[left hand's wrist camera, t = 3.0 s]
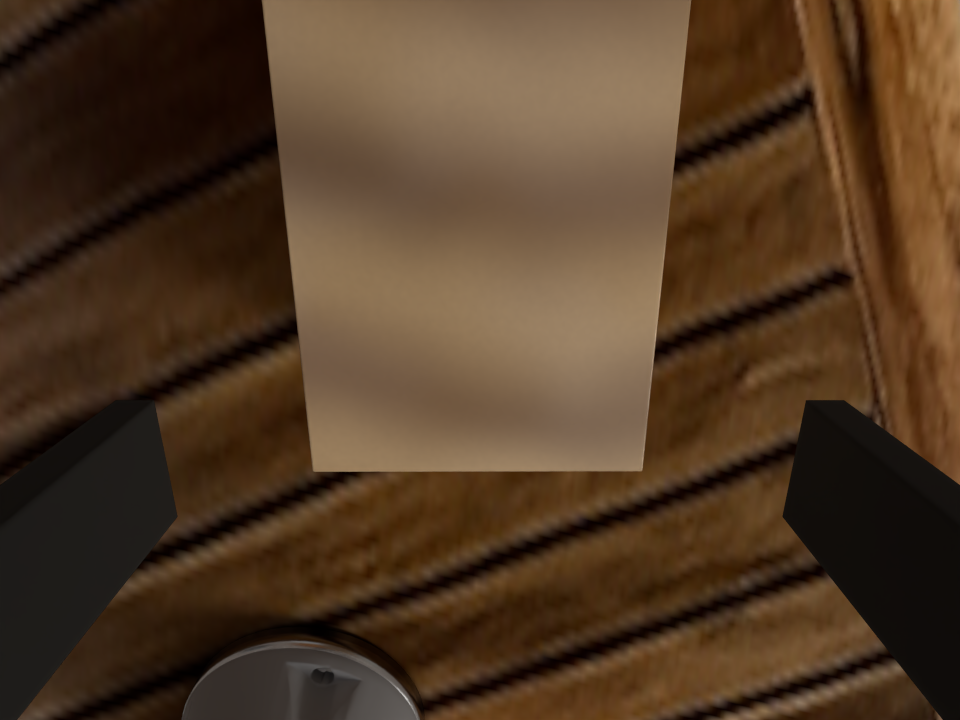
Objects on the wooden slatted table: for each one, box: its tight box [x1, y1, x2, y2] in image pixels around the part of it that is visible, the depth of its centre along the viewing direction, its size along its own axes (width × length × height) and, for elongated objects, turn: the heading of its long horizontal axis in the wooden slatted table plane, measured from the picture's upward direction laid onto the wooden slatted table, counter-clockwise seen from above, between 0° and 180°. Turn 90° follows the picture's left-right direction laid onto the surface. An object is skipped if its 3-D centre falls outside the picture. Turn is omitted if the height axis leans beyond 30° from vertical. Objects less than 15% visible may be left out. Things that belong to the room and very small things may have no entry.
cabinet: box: [262, 0, 691, 472], centre depth 23 cm, size 19×11×12 cm, turn 0°
